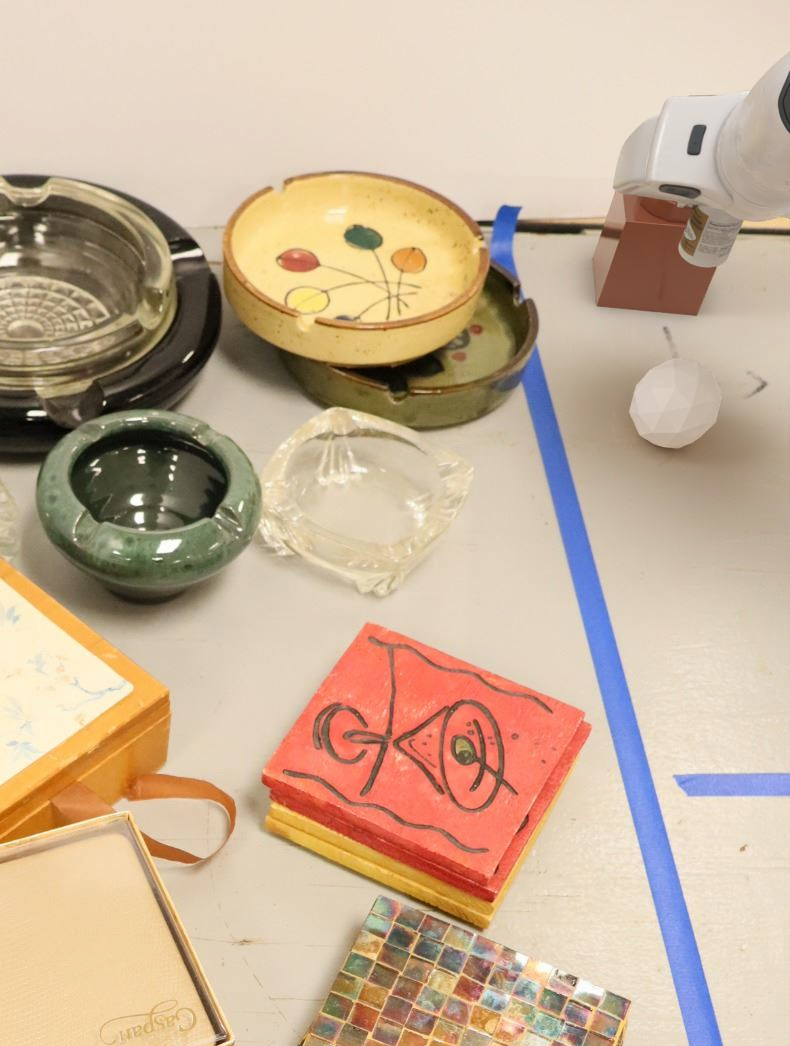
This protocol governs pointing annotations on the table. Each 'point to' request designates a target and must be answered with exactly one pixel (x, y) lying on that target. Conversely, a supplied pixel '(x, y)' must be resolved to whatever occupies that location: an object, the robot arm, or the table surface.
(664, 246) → the dispenser
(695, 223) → the pill bottle
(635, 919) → the table surface
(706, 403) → the geometric ball
